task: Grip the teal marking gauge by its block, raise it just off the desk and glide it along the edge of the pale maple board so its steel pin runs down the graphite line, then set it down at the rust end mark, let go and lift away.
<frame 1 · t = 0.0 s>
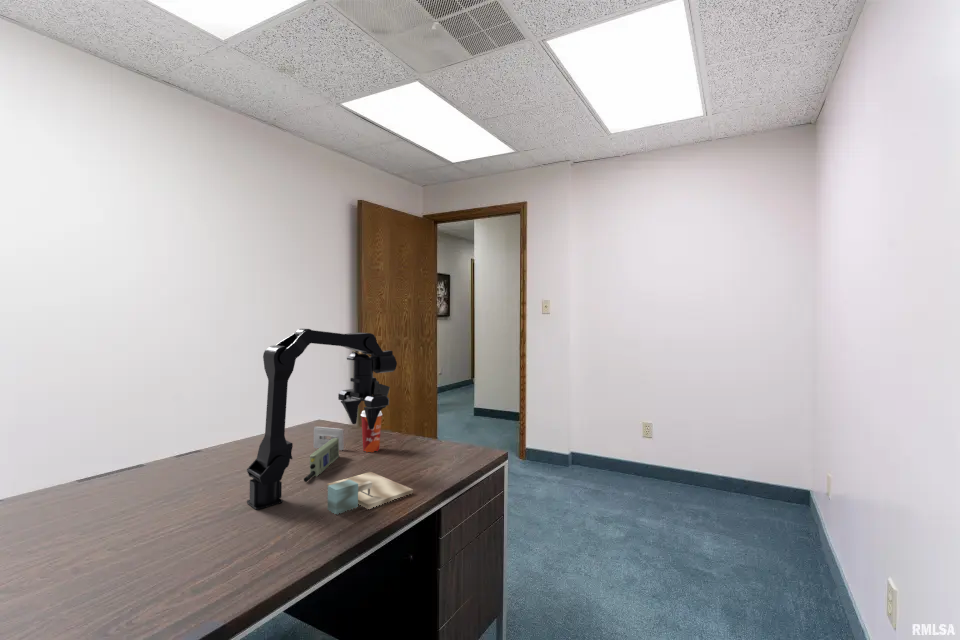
hand: (362, 426, 134), 15 cm above the table, tool pointing down, fingers open, 9 cm apart
handheld radio: (321, 470, 140), on the table
maple board: (369, 491, 122), on the table
paper cup: (371, 450, 160), on the table
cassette: (328, 449, 161), on the table
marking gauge: (342, 508, 111), on the table
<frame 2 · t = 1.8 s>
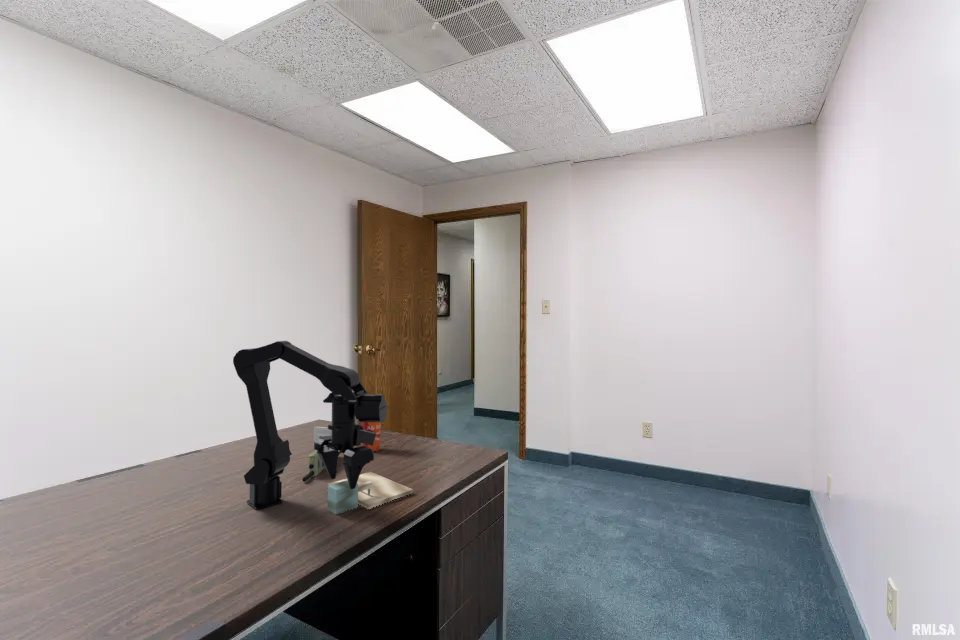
hand: (342, 483, 111), 6 cm above the table, tool pointing down, fingers open, 9 cm apart
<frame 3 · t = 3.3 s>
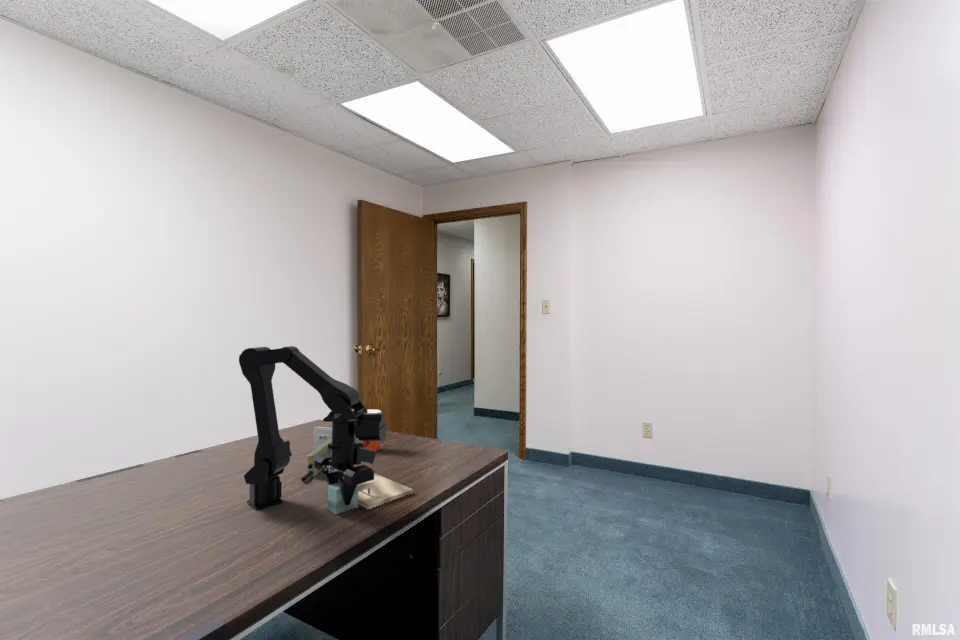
hand: (342, 502, 111), 2 cm above the table, tool pointing down, fingers closed on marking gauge, 4 cm apart
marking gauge: (342, 508, 111), on the table, touching gripper
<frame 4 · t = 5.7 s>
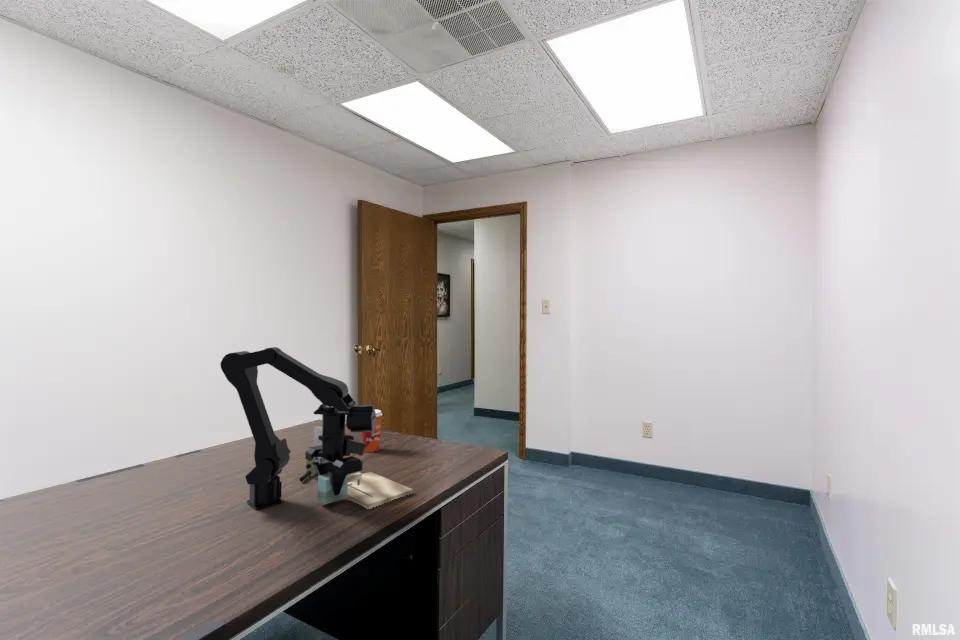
hand: (332, 492, 114), 3 cm above the table, tool pointing down, fingers closed on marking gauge, 4 cm apart
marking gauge: (332, 498, 114), point 1 cm above the table, touching gripper
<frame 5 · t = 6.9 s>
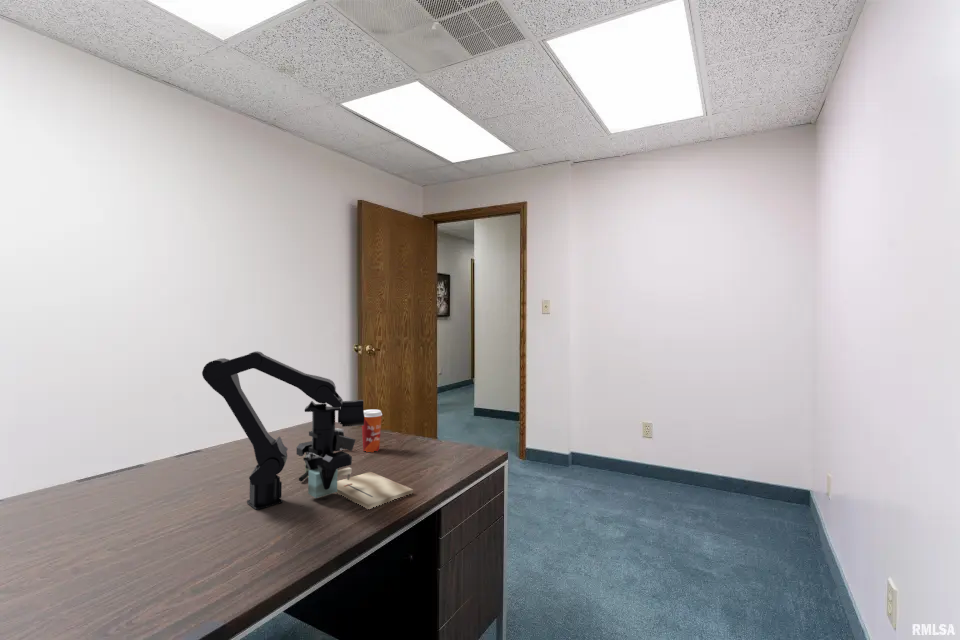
hand: (322, 486, 118), 3 cm above the table, tool pointing down, fingers closed on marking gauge, 4 cm apart
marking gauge: (322, 492, 118), point 1 cm above the table, touching gripper
when the fingers open (2 cm above the table, at t = 8.0 s): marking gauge stays where it is, on the table.
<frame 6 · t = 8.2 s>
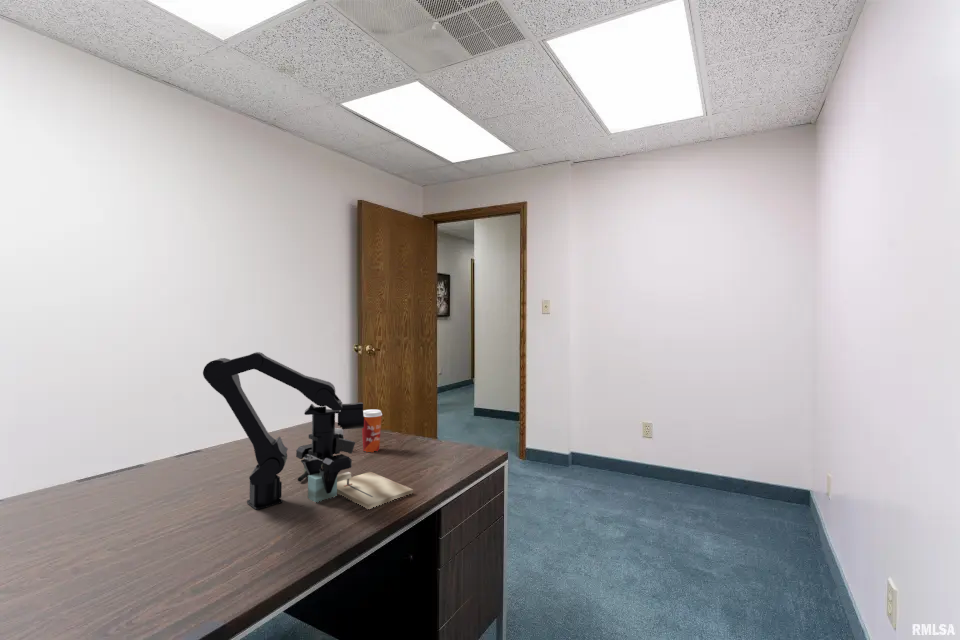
hand: (322, 489, 118), 2 cm above the table, tool pointing down, fingers open, 6 cm apart
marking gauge: (322, 497, 118), on the table
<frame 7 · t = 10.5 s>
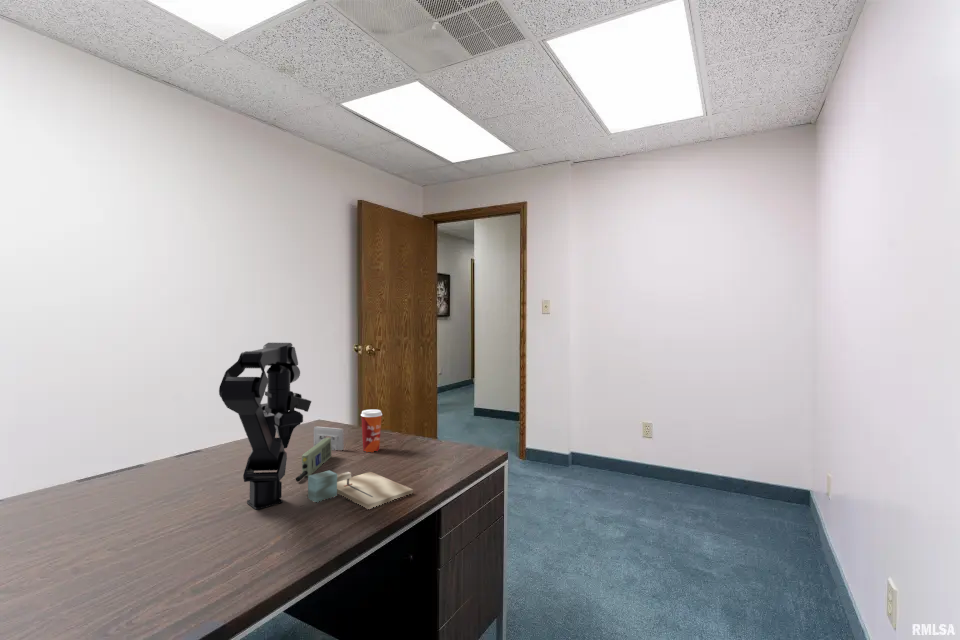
hand: (278, 444, 124), 12 cm above the table, tool pointing down, fingers open, 9 cm apart
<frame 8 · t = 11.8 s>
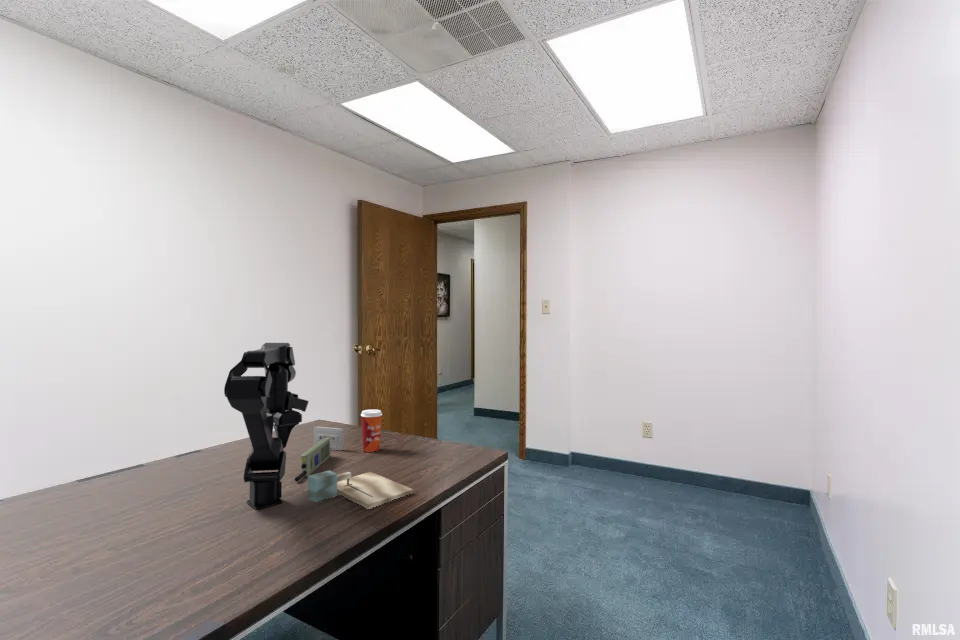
hand: (275, 444, 124), 12 cm above the table, tool pointing down, fingers open, 9 cm apart
at the end: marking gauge 0.0 cm from the target spot, on the table; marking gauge tilted 0°; the gripper is holding nothing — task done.
